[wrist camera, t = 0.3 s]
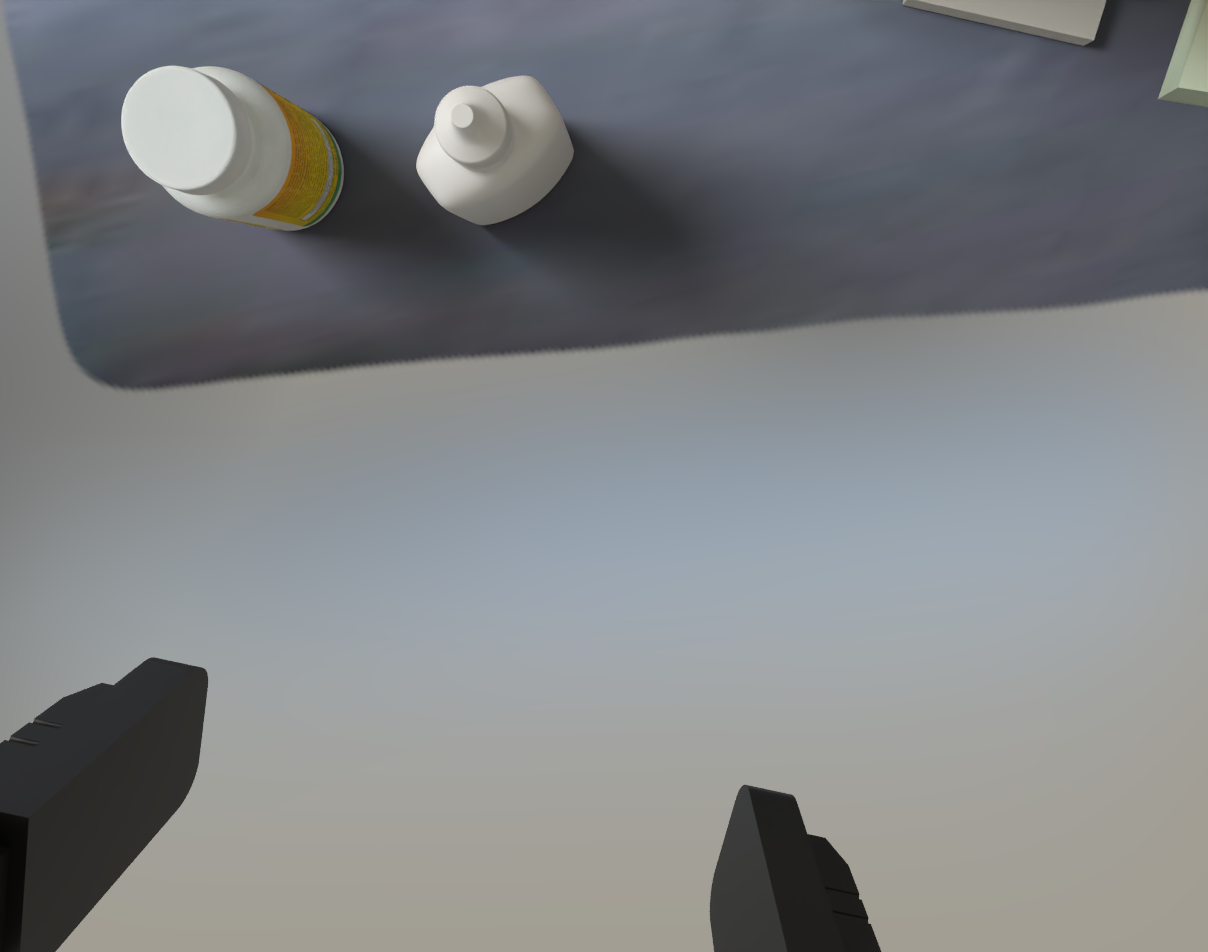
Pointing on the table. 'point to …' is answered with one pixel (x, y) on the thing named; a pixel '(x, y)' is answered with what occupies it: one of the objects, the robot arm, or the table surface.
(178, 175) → the supplement bottle
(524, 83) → the eye dropper bottle
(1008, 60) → the table surface
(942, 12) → the chute stand
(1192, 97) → the tilting chute
